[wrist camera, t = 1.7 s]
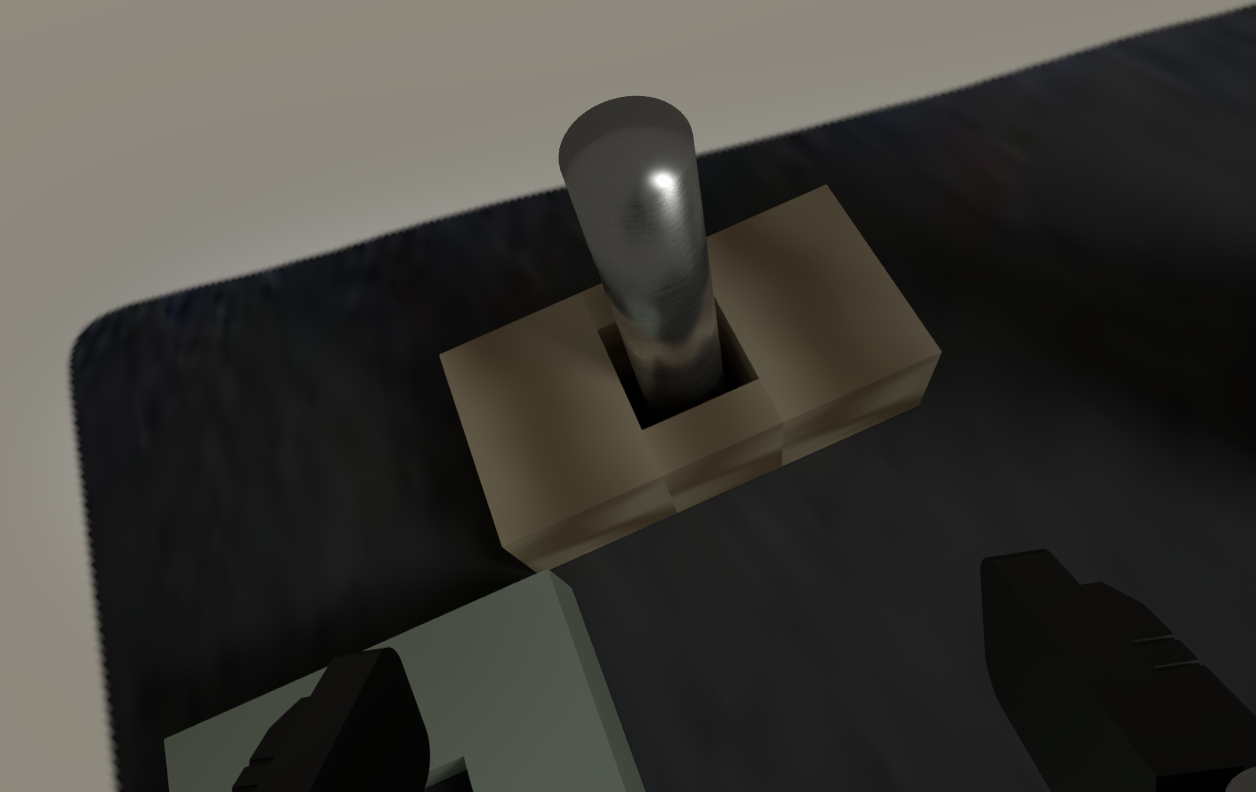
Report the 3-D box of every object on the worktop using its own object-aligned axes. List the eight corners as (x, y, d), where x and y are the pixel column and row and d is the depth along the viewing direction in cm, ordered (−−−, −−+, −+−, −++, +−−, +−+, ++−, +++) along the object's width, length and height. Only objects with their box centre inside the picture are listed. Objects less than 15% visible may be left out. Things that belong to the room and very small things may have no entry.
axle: (707, 356, 32) (661, 77, 19) (740, 420, 31) (716, 167, 17) (637, 388, 32) (540, 130, 19) (667, 453, 31) (586, 224, 17)
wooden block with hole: (819, 252, 33) (826, 184, 29) (918, 405, 30) (941, 351, 26) (479, 402, 33) (438, 354, 29) (538, 574, 30) (502, 547, 26)
